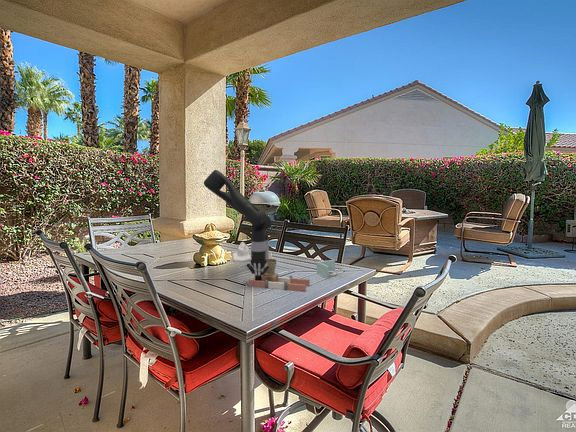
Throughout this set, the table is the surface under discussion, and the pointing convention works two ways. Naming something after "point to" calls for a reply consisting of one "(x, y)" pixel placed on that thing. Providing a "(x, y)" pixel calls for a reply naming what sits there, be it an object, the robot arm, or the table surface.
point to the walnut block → (270, 277)
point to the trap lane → (282, 283)
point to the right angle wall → (326, 268)
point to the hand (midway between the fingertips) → (258, 282)
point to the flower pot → (272, 266)
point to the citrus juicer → (242, 254)
